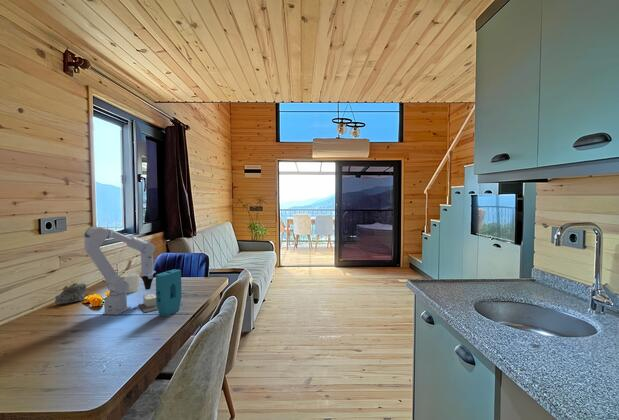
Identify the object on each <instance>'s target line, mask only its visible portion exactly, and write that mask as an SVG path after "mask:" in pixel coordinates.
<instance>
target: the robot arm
mask: <svg viewBox="0 0 619 420" xmlns="http://www.w3.org/2000/svg"><path fill="white" fill-rule="evenodd" d="M83 238H84V251H85V253H86V254H87V255H88V256H89V257H88V258H90V260H91V261H92V262H93V264H94V265H95V267H96V268H97V269H98V270H99V272H100V273H101V276H103V278H104V279H105V283H106V288H107V290H108V291H109V294H108V297H106V298H105V299H104V302H103V304H104V308H103V309H104V312H103V313H102V315H112V316H113V315H114V316H117V315H118V316H119V315H120V314H122V313H124V312H126V311H128V310H129V309H131V308H132V307H131V306H128V300H127V299H128V298H127V297H128V295H127V290H128V288H129V284H128V283H127V282H126V281H125V279H123V278H122V277H121V276H120V275H119V274H118V273H117V272H116V270H115V269H114V267H113V266H112V265H111V263H110V261H109V260H108V259H107V257H106V256H105V254H104V253H103V252H102V250H101V246H102V244H103V243H104V242H105V241H106V240H110V239H113V240H116V241H119V242H122V243H125V245H126V246H127V247H128V248H131V249H133V250H135V251H139V252H140V262H141V263H140V267H141V272H140V275H141V277H140V278H141V280H142V281H143V285H144V286H143V287H144V289H145V291H148V290H151V288H152V283H153V280H154V278H155V276H154V274H156V273H157V271H156V270H154V252H155V250H156V247H155V245H154V244H153V243H152V242H147V240H146V239H141V238H139V236H136V235H135V236H127V235H125V234H122V233H120V232H118V231H116V230H113V229H110V228H106V227H101V226H100V227H99V226H90V227H88V228H87V229H86V230H85V232H84V233H83Z"/></svg>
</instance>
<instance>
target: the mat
mask: <svg viewBox="0 0 619 420" xmlns="http://www.w3.org/2000/svg"><path fill="white" fill-rule="evenodd" d="M138 306H139V308H140V310H141V311H142V312H143V314H146V313H150V312H151V313H152V312H155V311H158V308H157V305H155V306H150V307H146V305H145V304H144V303H139V304H138Z"/></svg>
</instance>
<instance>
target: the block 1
mask: <svg viewBox="0 0 619 420" xmlns="http://www.w3.org/2000/svg"><path fill="white" fill-rule="evenodd" d="M142 300H143V303H144V304H145V305H146V307H150V306H155V305H157V304H156V293H150V294H145V295H144V294H143V299H142ZM143 303H142V304H143Z"/></svg>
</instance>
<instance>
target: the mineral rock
mask: <svg viewBox="0 0 619 420" xmlns="http://www.w3.org/2000/svg"><path fill="white" fill-rule="evenodd" d="M86 296H88V293H87V285H86V283H77V282H76V283H75V282H74V283H72V284H71V285H70V286H68V287H67V288H66V289H64V290H62V291H61V292H60V293H59V294H58V295H56V296H55V297H54V298H55V300H54V304H56V305H59V304H63V305H64V304H70V303H71V304H72V303H75V302H80V301H86V299H84V298H85V297H86Z"/></svg>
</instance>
